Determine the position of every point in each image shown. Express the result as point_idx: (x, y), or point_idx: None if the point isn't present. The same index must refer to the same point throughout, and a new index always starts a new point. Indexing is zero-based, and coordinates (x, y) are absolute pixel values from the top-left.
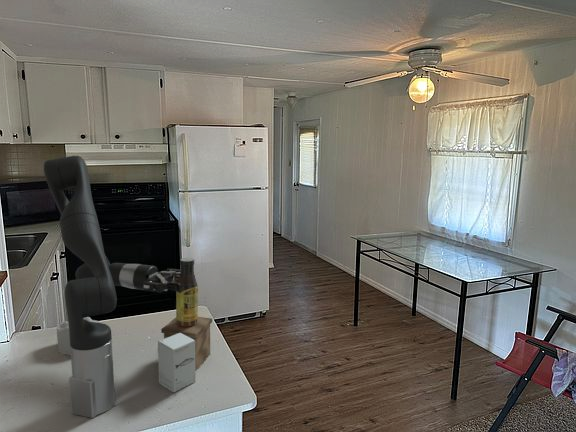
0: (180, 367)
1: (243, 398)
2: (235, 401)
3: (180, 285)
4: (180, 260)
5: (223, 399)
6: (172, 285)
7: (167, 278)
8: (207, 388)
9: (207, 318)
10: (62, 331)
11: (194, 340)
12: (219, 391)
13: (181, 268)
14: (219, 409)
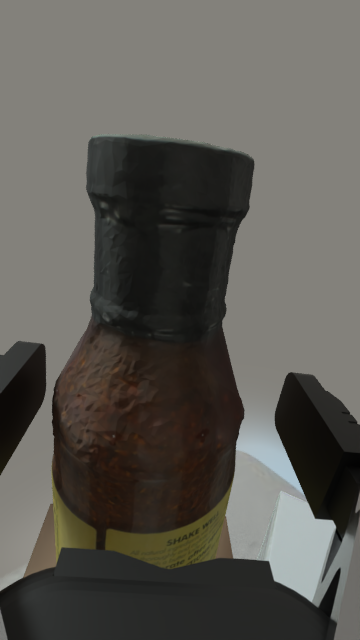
0: None
1: (242, 459)
2: (259, 470)
3: (288, 382)
4: (236, 156)
5: (267, 493)
6: (351, 417)
7: (217, 566)
8: (252, 545)
9: (48, 526)
10: None
11: (283, 492)
12: (247, 510)
13: (223, 264)
14: (298, 490)
